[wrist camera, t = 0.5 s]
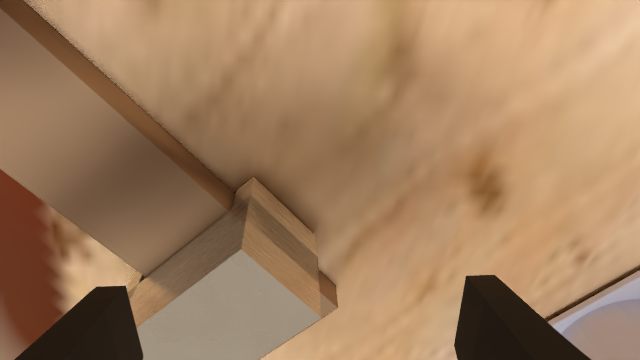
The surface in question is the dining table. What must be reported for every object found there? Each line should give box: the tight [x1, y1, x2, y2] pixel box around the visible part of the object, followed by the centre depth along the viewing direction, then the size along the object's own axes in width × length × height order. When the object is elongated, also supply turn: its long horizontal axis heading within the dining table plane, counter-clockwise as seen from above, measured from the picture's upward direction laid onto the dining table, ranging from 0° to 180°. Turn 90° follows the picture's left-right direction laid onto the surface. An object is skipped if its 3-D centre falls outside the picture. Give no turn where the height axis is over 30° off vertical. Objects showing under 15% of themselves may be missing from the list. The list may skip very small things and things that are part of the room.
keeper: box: [126, 177, 321, 360], centre depth 19 cm, size 4×8×5 cm, turn 130°
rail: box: [0, 0, 338, 360], centre depth 17 cm, size 20×8×6 cm, turn 40°
